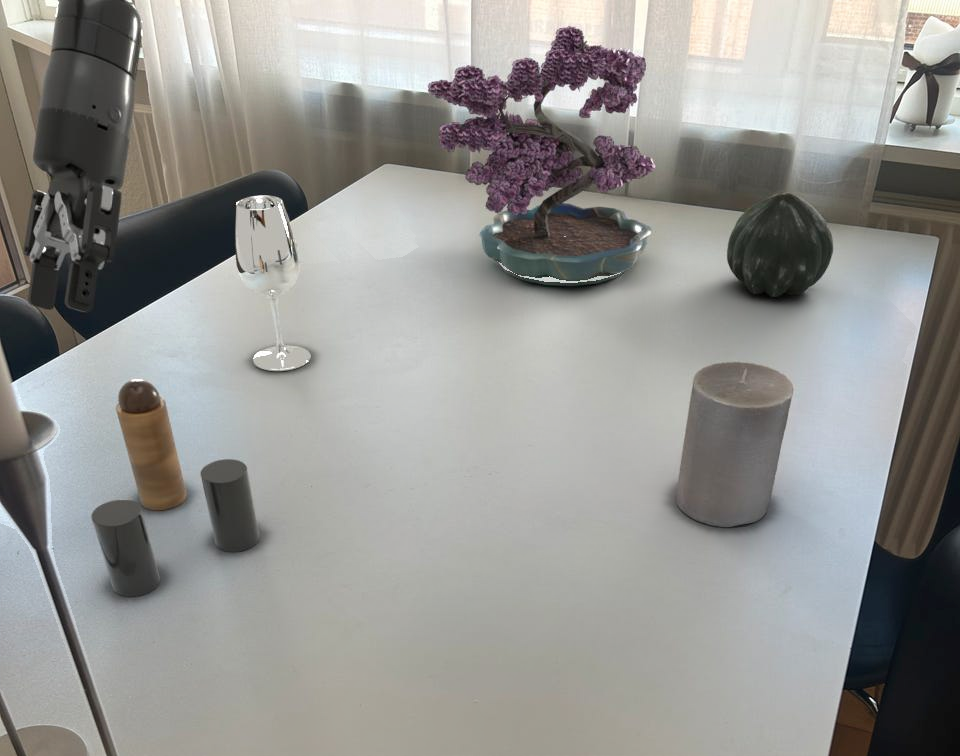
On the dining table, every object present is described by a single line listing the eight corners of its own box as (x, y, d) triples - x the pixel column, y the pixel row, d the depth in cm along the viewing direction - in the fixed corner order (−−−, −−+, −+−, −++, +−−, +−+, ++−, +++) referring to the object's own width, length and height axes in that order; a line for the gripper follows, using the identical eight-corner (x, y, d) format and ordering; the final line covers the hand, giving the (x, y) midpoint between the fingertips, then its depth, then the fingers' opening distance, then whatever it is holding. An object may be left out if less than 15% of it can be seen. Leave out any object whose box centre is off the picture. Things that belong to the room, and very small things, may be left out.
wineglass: (242, 368, 131) (215, 209, 118) (267, 344, 137) (244, 190, 124) (297, 375, 129) (275, 215, 116) (320, 350, 135) (302, 195, 122)
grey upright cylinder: (229, 557, 99) (214, 487, 93) (207, 538, 101) (192, 469, 96) (267, 540, 101) (255, 471, 96) (245, 522, 103) (232, 454, 98)
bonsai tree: (637, 232, 170) (658, 8, 149) (671, 293, 149) (700, 43, 128) (432, 238, 168) (423, 13, 147) (437, 301, 148) (427, 49, 127)
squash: (806, 227, 155) (766, 157, 145) (866, 263, 145) (826, 190, 135) (736, 295, 159) (691, 232, 148) (789, 335, 148) (745, 270, 138)
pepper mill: (153, 516, 104) (122, 397, 96) (133, 497, 107) (101, 380, 98) (194, 499, 107) (168, 382, 98) (173, 481, 110) (146, 366, 101)
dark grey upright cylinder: (125, 602, 93) (103, 531, 88) (105, 581, 96) (83, 511, 91) (168, 584, 95) (149, 513, 90) (147, 563, 98) (128, 493, 93)
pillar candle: (692, 471, 110) (711, 341, 101) (779, 492, 107) (808, 360, 97) (662, 514, 104) (679, 380, 94) (754, 538, 100) (782, 401, 91)
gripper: (12, 113, 90) (-13, 296, 93) (77, 93, 81) (47, 298, 83) (93, 146, 96) (67, 318, 98) (162, 131, 86) (133, 322, 88)
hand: (58, 308), depth 90 cm, fingers open, 8 cm apart
